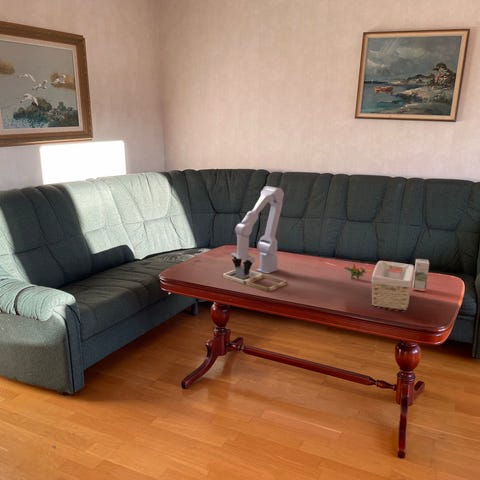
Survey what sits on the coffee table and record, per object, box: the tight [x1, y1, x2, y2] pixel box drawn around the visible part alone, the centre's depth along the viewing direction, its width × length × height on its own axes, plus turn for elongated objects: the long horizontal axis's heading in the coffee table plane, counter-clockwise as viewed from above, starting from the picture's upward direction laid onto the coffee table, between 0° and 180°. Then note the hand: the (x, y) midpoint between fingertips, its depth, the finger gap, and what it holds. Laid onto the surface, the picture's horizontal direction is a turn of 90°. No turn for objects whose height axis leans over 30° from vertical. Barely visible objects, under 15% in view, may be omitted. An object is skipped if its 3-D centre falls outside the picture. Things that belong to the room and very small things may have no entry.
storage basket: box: [371, 260, 415, 311], centre depth 201 cm, size 24×16×15 cm
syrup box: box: [412, 258, 430, 290], centre depth 215 cm, size 6×6×14 cm
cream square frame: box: [221, 269, 263, 285], centre depth 231 cm, size 15×15×2 cm
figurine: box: [343, 263, 367, 281], centre depth 229 cm, size 3×12×8 cm, turn 55°
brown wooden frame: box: [244, 273, 288, 293], centre depth 221 cm, size 15×15×2 cm
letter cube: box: [234, 264, 250, 280], centre depth 230 cm, size 5×5×5 cm
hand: (242, 273), depth 230 cm, fingers closed on letter cube, 5 cm apart
